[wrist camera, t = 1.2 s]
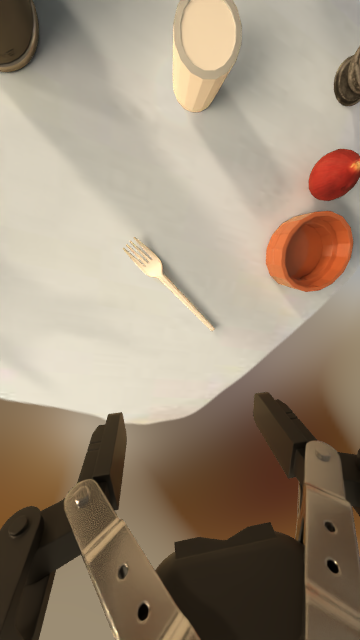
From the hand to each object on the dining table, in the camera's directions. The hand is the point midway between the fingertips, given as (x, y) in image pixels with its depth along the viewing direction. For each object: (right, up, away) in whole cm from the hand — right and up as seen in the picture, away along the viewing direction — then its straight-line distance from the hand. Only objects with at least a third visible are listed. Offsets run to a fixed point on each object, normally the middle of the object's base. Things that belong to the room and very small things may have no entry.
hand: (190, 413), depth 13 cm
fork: (-2, +11, +23) cm, 25 cm away
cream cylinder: (+1, +36, +15) cm, 39 cm away
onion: (+20, +27, +20) cm, 39 cm away
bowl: (+19, +17, +23) cm, 34 cm away
